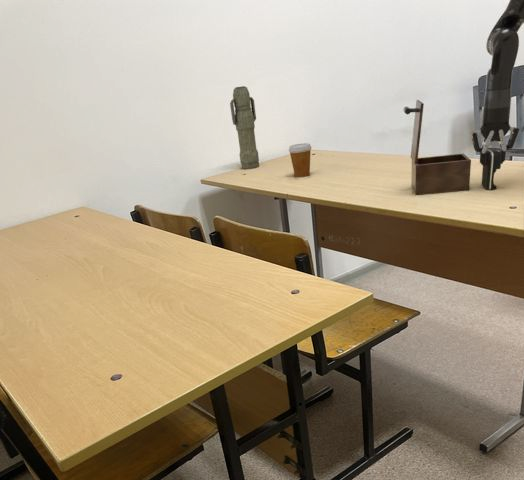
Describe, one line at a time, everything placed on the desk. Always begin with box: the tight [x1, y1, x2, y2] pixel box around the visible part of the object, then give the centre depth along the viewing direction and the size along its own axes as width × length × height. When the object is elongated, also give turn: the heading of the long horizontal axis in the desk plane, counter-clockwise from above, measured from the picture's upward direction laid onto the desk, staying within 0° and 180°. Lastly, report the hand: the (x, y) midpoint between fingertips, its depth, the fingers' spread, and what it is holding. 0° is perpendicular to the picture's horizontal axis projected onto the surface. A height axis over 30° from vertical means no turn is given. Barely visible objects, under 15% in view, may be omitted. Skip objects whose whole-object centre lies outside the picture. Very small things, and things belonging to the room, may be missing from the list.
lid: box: [402, 99, 425, 164], centre depth 170 cm, size 18×12×5 cm
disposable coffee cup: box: [288, 142, 312, 178], centre depth 221 cm, size 10×10×12 cm
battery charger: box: [481, 149, 502, 190], centre depth 168 cm, size 7×4×11 cm, turn 176°
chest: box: [410, 152, 472, 196], centre depth 175 cm, size 17×12×9 cm
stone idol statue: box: [229, 85, 260, 170], centre depth 247 cm, size 9×12×35 cm
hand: (492, 164), depth 167 cm, fingers open, 4 cm apart
